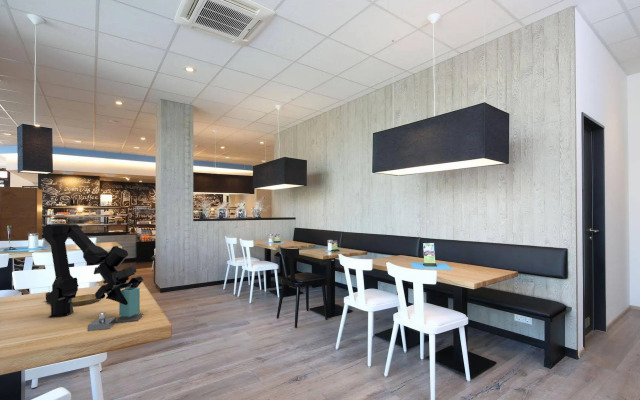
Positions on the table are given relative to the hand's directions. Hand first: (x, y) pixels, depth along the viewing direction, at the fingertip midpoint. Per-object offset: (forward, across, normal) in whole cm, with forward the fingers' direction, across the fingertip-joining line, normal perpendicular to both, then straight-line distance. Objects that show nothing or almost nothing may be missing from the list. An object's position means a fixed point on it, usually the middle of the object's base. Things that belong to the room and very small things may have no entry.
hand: (132, 302), depth 129 cm
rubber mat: (+4, 0, +6) cm, 7 cm away
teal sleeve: (+2, 0, +4) cm, 5 cm away
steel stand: (+2, -9, +8) cm, 12 cm away
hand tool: (-38, +12, +49) cm, 63 cm away
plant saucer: (-28, +17, +38) cm, 50 cm away
